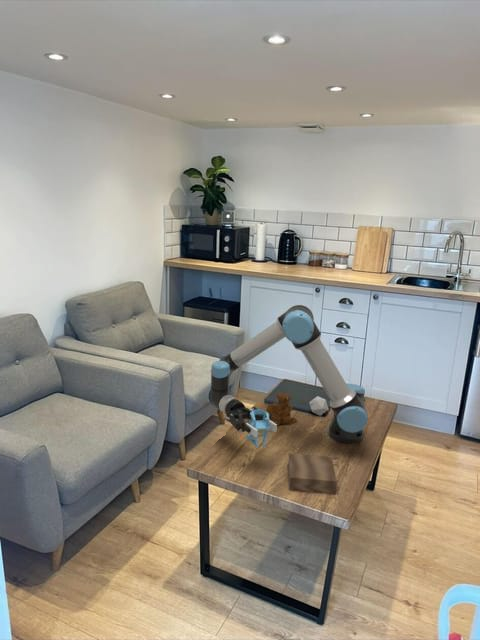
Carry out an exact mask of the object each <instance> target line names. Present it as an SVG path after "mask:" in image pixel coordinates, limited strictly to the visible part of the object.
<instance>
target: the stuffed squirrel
mask: <svg viewBox="0 0 480 640" xmlns="http://www.w3.org/2000/svg"><path fill="white" fill-rule="evenodd" d="M275 395H276V397H277V399H278V403H277V402H273V403H270V404H268V405H266V406H265V411H266V412H267V413H269V415H271V417H270V420H271V421H273V422H274V423H275V424H277V427H279V426H280V425H292V424H295V423H297V420H298V419H297V418H296V417H292V414H291V412H292V411H293V409H294V405H293V404H289V403H290V402H293V399H292V398H291V397H290V394H288V393H286V392H283V393H276V394H275Z"/></svg>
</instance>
